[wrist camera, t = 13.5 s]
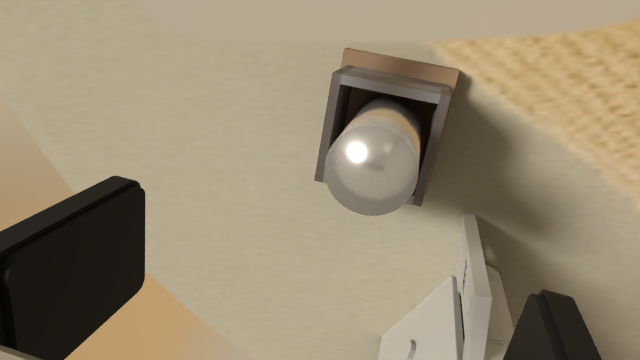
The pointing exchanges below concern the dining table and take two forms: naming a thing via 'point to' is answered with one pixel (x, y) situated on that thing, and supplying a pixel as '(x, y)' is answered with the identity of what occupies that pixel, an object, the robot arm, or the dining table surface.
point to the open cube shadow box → (396, 79)
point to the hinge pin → (376, 156)
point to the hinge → (456, 313)
